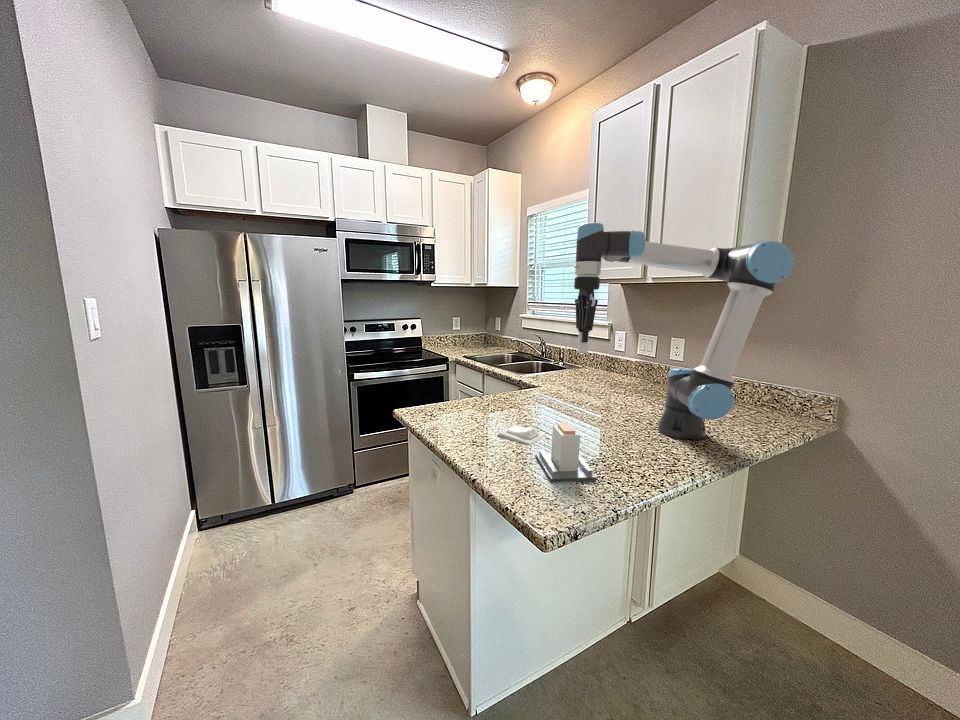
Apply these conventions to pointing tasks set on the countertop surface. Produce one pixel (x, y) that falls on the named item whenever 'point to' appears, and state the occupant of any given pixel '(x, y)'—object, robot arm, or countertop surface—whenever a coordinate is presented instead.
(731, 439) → the countertop surface
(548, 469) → the rail
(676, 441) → the countertop surface
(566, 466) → the block
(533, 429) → the light switch
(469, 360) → the countertop surface
